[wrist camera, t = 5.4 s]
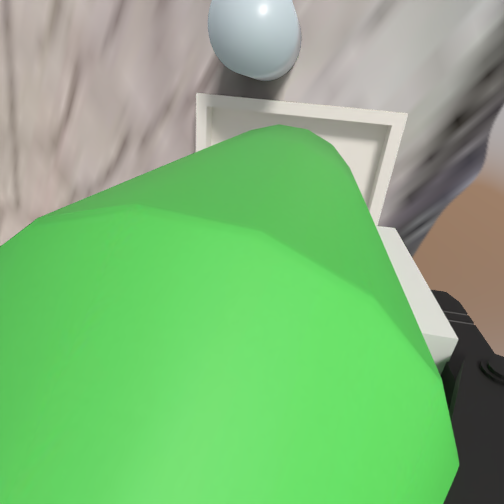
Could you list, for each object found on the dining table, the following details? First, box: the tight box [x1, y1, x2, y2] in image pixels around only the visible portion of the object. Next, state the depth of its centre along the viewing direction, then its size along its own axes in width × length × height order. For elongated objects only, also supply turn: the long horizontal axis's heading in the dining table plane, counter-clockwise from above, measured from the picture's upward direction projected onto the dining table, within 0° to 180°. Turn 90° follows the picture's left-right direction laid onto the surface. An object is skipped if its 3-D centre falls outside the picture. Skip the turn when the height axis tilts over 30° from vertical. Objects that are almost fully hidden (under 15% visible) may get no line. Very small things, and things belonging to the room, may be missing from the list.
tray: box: [196, 93, 408, 226], centre depth 32 cm, size 18×15×2 cm
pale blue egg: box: [208, 0, 302, 81], centre depth 25 cm, size 6×6×7 cm
